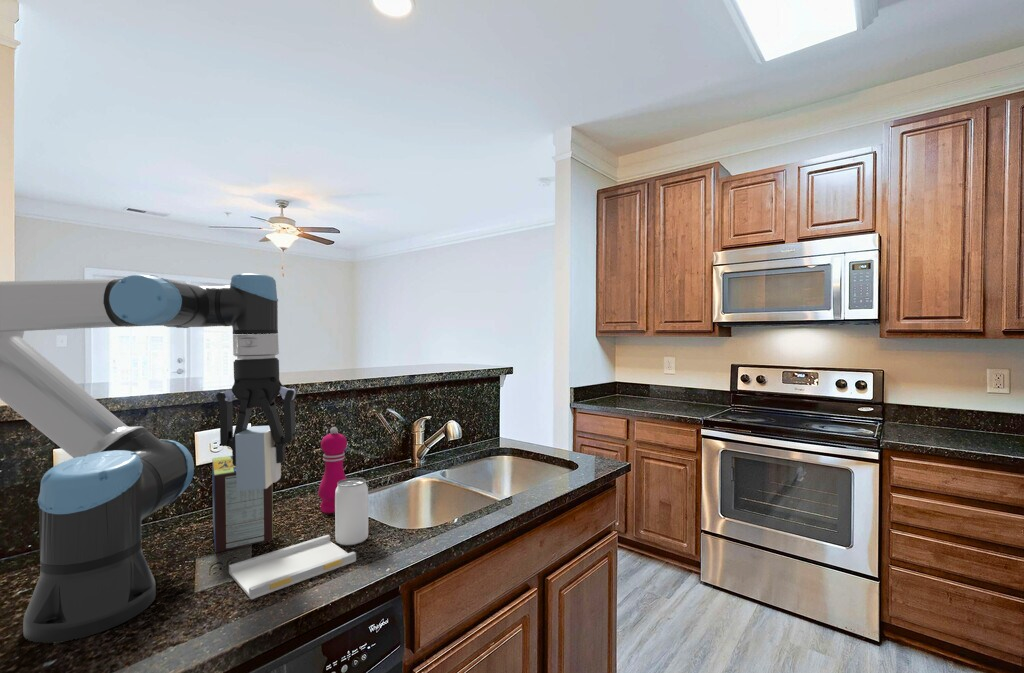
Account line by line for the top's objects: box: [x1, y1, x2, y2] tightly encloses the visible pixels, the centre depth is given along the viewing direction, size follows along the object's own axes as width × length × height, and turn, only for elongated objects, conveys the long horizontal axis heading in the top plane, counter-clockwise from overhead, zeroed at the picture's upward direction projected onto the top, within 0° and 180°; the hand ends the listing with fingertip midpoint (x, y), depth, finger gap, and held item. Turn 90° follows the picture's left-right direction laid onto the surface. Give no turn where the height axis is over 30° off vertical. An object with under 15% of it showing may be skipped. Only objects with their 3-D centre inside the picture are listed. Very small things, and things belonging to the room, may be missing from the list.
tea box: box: [235, 425, 282, 491], centre depth 89 cm, size 8×5×10 cm, turn 9°
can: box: [334, 477, 369, 547], centre depth 98 cm, size 6×6×12 cm
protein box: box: [211, 455, 274, 553], centre depth 102 cm, size 10×15×16 cm
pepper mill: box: [317, 426, 348, 514], centre depth 116 cm, size 7×7×20 cm
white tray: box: [228, 534, 357, 600], centre depth 87 cm, size 18×12×2 cm
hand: (259, 481), depth 89 cm, fingers closed on tea box, 5 cm apart
